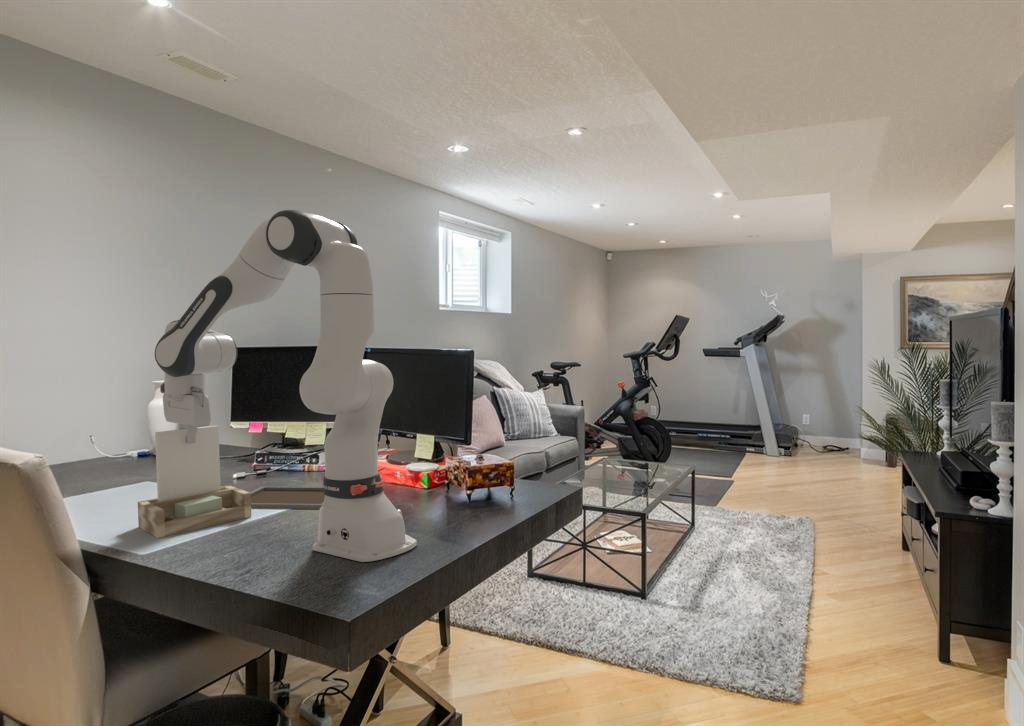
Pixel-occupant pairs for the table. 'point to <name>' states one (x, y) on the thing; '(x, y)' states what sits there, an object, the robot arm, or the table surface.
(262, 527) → the table surface
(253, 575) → the table surface
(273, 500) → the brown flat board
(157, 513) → the rack
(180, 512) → the offcut top
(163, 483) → the off-white rectangular board
